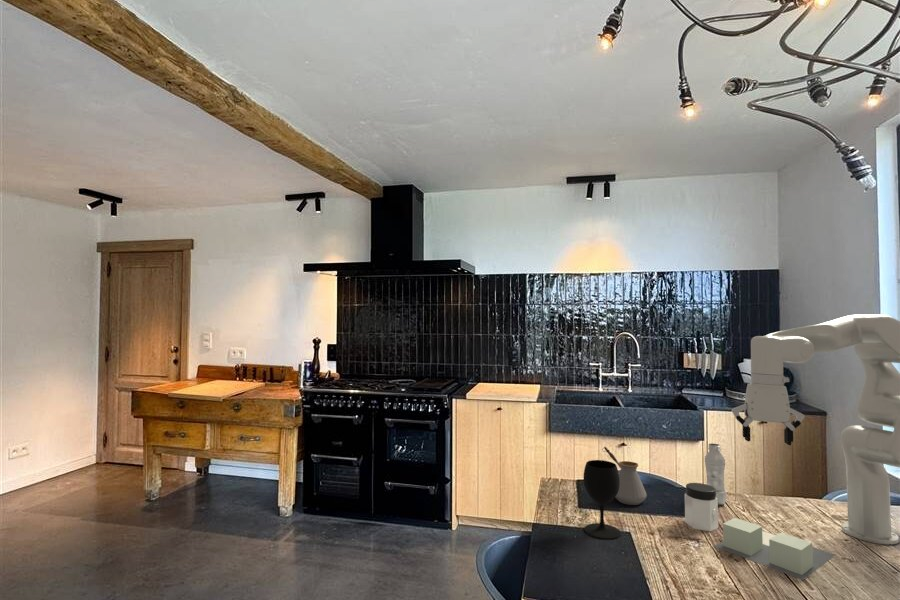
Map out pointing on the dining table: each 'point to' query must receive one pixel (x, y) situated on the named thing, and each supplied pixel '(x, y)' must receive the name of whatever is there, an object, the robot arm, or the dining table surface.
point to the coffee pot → (629, 483)
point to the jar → (701, 506)
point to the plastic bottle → (716, 471)
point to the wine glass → (601, 494)
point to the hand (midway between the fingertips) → (767, 442)
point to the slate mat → (764, 559)
